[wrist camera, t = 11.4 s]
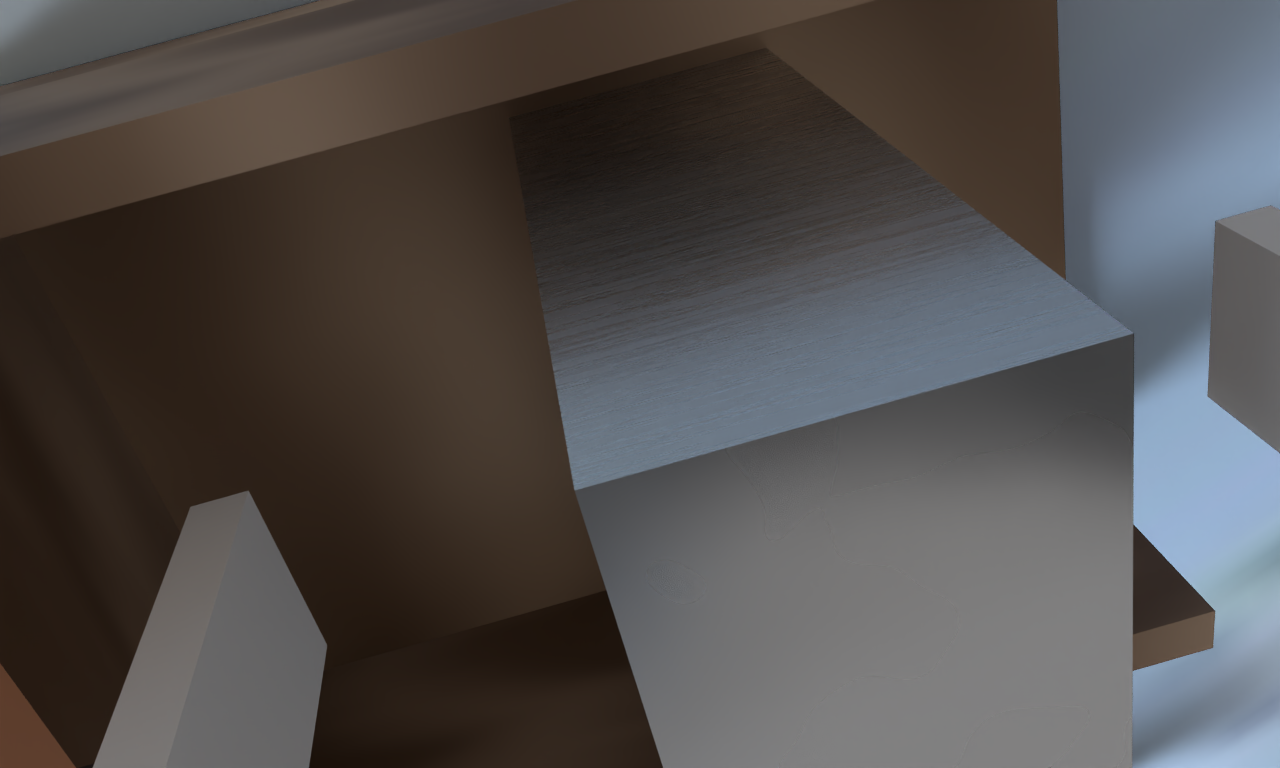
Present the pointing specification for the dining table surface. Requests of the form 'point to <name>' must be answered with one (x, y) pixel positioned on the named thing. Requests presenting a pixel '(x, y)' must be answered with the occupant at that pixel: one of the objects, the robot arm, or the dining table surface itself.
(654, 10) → the rack
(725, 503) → the block
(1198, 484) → the dining table surface
